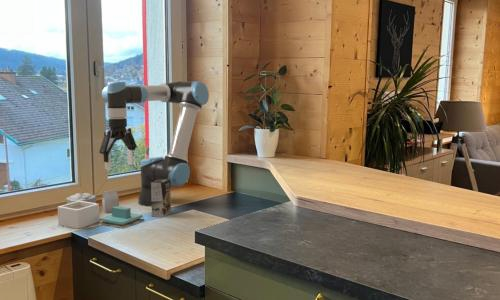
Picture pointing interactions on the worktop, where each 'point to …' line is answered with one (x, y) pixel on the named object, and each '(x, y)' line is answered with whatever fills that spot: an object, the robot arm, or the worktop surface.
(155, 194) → the coffee box
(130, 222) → the cork mat
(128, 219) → the lid
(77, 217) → the storage box
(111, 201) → the grey rectangular block
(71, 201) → the lumpy-topped squat cylinder
